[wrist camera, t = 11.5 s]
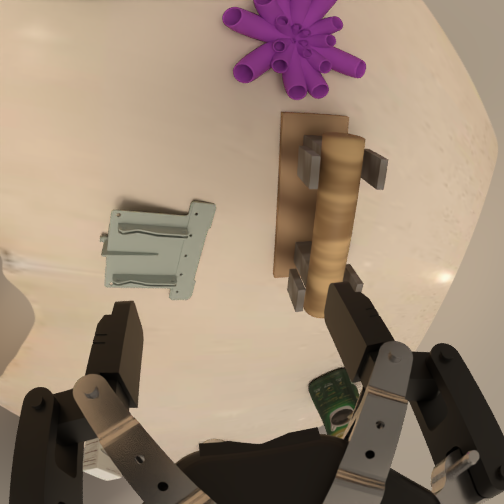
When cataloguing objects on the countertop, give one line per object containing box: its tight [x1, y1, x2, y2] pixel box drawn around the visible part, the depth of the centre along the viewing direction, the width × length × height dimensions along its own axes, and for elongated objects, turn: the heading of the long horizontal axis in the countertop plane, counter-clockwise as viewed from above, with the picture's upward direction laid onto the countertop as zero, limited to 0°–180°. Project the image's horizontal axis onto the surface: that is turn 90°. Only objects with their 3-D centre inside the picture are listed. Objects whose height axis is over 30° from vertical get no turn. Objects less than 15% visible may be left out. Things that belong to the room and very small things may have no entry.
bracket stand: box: [273, 112, 388, 312], centre depth 35 cm, size 22×8×11 cm, turn 179°
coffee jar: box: [309, 369, 359, 438], centre depth 54 cm, size 10×8×19 cm
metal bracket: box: [100, 201, 216, 300], centre depth 40 cm, size 14×6×15 cm
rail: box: [303, 132, 365, 318], centre depth 32 cm, size 20×4×4 cm, turn 179°
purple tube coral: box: [222, 0, 366, 100], centre depth 26 cm, size 11×15×10 cm
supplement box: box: [83, 438, 122, 481], centre depth 58 cm, size 7×7×13 cm
